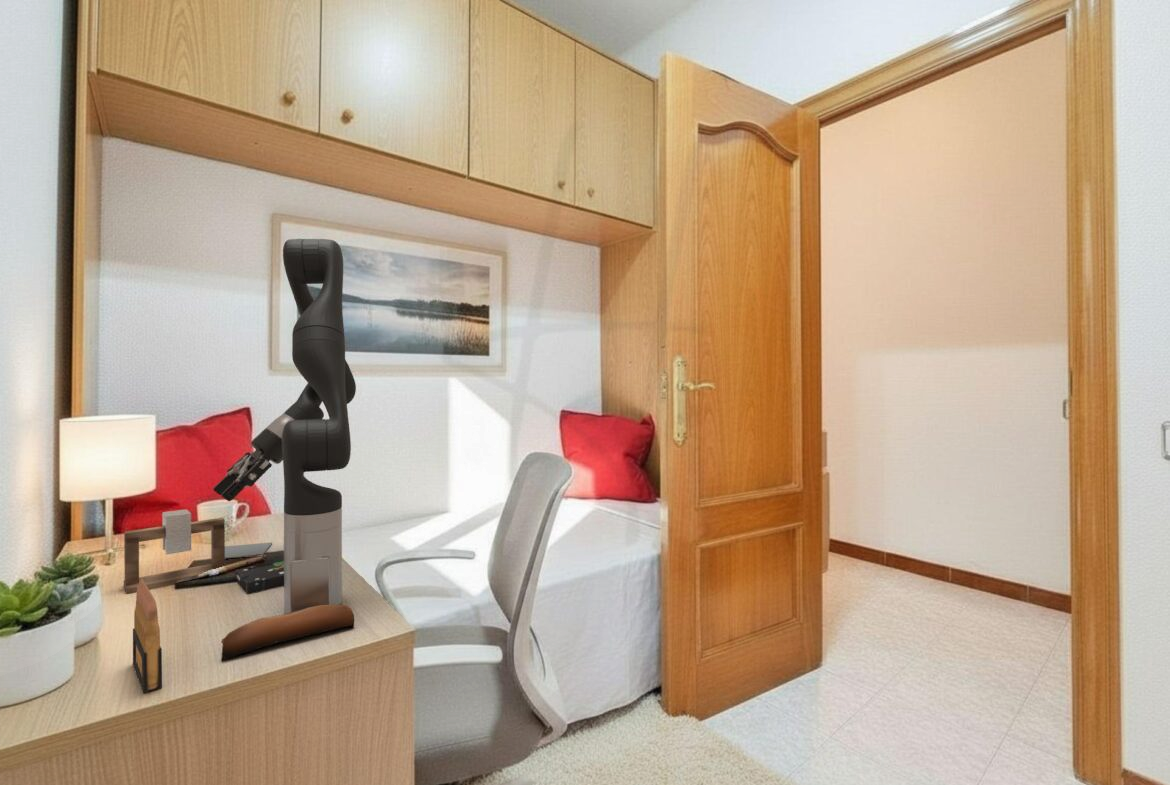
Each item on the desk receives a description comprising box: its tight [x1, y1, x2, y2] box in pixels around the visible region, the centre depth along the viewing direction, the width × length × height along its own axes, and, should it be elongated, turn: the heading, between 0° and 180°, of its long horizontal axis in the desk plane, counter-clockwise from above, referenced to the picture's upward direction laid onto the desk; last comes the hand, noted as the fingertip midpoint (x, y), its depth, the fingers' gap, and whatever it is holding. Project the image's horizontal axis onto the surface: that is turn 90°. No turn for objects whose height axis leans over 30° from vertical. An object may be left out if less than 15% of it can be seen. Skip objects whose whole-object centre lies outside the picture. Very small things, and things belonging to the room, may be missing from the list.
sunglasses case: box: [220, 604, 355, 662], centre depth 84 cm, size 18×7×7 cm
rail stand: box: [123, 517, 226, 595], centre depth 108 cm, size 16×6×11 cm, turn 135°
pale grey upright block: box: [161, 508, 192, 556], centre depth 108 cm, size 4×5×8 cm
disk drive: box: [235, 560, 284, 595], centre depth 109 cm, size 10×3×15 cm
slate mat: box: [225, 542, 273, 559], centre depth 126 cm, size 10×10×1 cm
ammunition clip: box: [132, 579, 163, 694], centre depth 72 cm, size 11×2×12 cm, turn 46°
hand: (220, 495), depth 113 cm, fingers open, 8 cm apart
